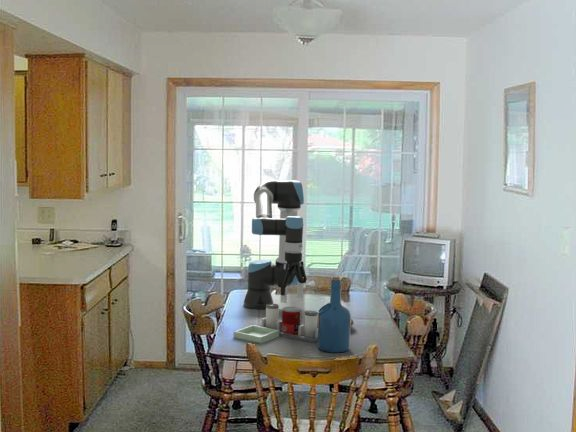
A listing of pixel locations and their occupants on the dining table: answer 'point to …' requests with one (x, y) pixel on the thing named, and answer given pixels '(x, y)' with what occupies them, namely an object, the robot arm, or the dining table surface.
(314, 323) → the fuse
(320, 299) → the dining table surface
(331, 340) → the wine bottle
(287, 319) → the canned food
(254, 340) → the tray
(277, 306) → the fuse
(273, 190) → the robot arm
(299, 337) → the fuse block
